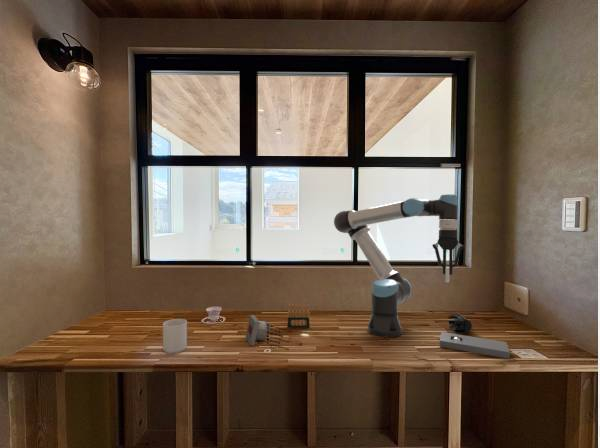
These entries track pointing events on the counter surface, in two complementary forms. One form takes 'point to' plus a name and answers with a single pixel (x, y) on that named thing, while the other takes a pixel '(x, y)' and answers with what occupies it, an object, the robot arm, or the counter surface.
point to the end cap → (459, 324)
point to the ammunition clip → (294, 317)
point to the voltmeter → (260, 331)
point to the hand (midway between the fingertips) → (447, 281)
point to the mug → (174, 336)
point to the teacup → (213, 315)
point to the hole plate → (475, 345)
